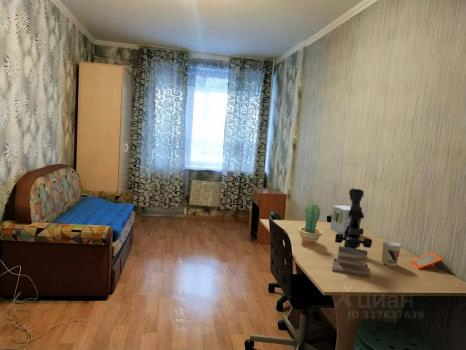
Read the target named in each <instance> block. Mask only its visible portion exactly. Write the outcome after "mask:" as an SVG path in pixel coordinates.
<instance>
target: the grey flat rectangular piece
mask: <svg viewBox="0 0 466 350" xmlns="http://www.w3.org/2000/svg"><path fill="white" fill-rule="evenodd" d="M367 256H368V250H365V249H359V248H356V249H354V248H348V247H344V246H342V245H341V246H340V245H339V246H338V252H337V258H336V260H338V261H343V262H349V263H355V264H360V265H365V264H366V260H367Z"/></svg>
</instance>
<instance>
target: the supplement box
mask: <svg viewBox="0 0 466 350" xmlns="http://www.w3.org/2000/svg"><path fill="white" fill-rule="evenodd" d="M350 208H351V206H349V205H346V204H345V205H333V206H332V212H331V221H330V230H333V231H335V232H337V233H339V234H343V235H344V233H345V231H346V228H347V226H348V225H349V221H350V218H349V217H348V213H349V210H350Z"/></svg>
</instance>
